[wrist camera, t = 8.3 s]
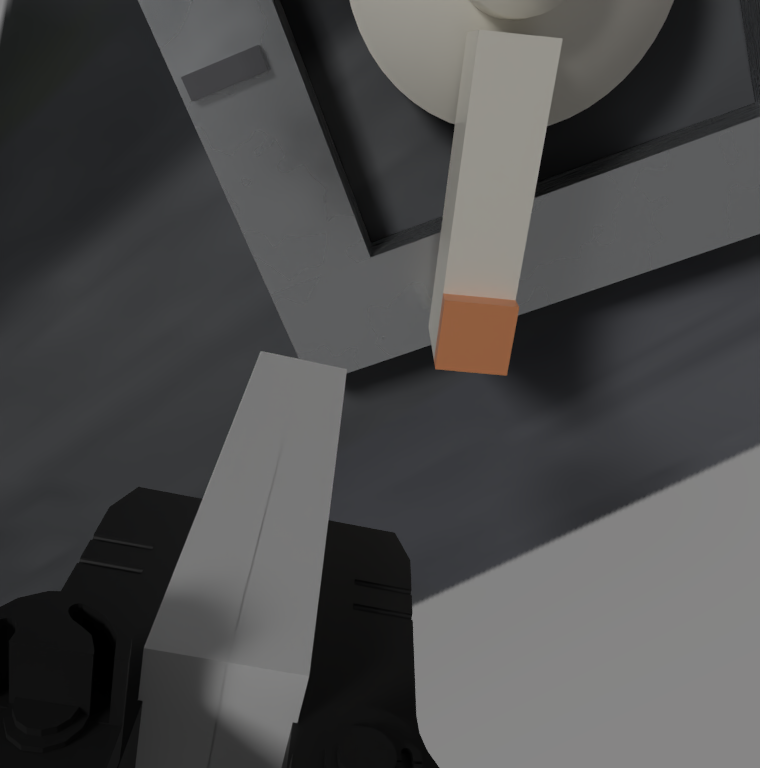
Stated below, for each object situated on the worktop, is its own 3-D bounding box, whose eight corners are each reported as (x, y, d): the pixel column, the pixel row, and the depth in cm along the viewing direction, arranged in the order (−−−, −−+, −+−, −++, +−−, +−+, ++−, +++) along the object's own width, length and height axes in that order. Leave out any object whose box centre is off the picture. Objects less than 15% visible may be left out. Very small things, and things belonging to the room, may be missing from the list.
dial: (361, -251, 19) (351, -371, 14) (694, -212, 20) (814, -313, 14) (325, 292, 25) (309, 358, 20) (578, 315, 26) (630, 386, 20)
